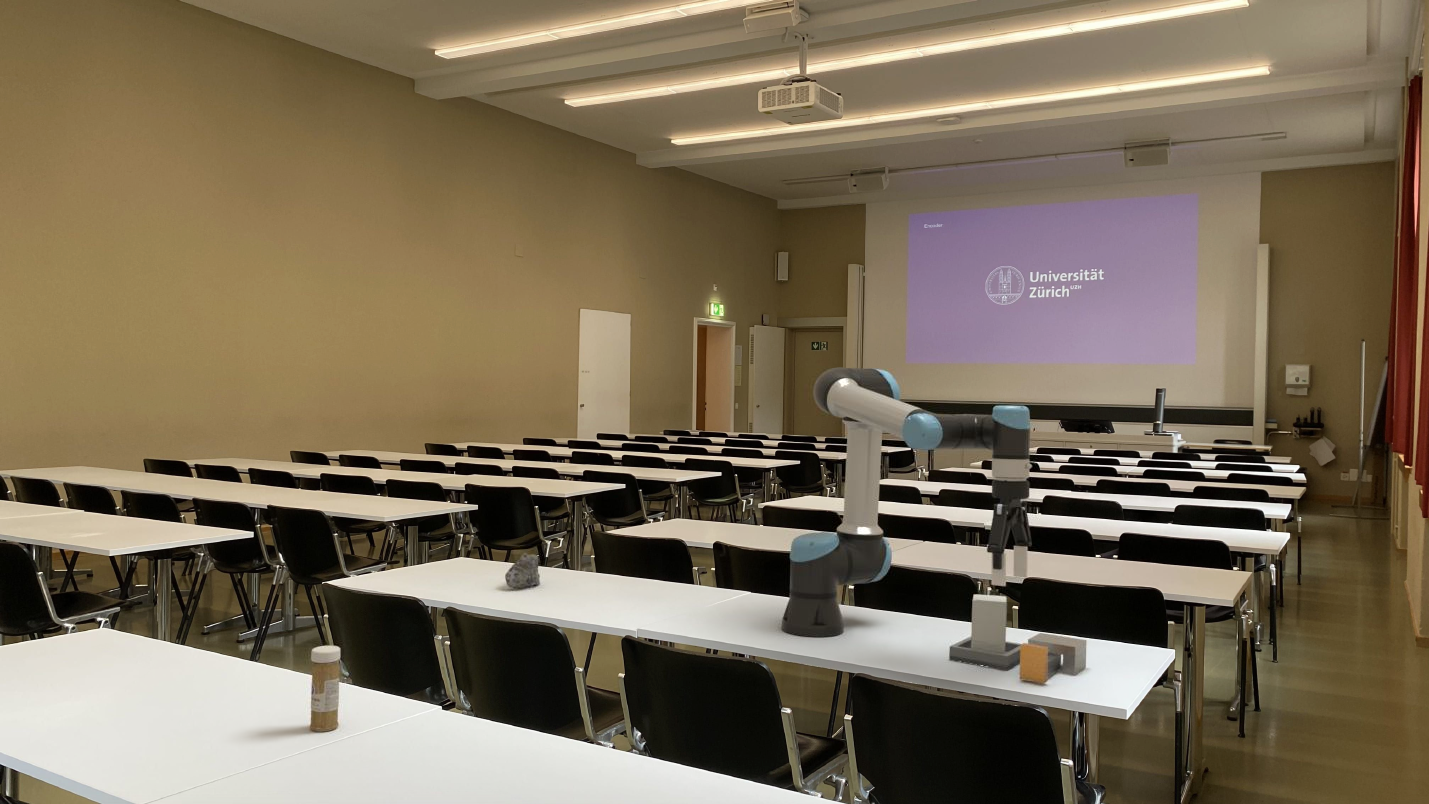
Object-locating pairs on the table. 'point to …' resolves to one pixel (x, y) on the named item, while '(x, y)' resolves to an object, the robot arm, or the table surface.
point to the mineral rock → (523, 572)
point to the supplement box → (989, 623)
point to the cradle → (986, 655)
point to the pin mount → (1064, 650)
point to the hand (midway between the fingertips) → (1009, 581)
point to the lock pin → (1037, 663)
